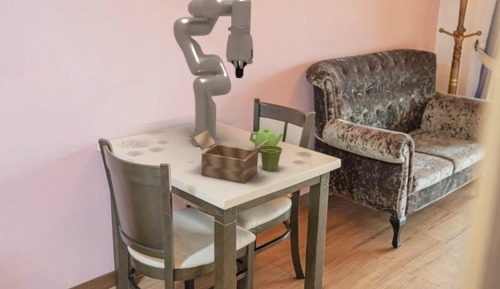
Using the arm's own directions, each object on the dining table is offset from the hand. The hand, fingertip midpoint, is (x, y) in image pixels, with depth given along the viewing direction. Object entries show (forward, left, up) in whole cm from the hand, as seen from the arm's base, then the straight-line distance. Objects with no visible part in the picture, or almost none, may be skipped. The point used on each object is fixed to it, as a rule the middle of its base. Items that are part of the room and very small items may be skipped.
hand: (239, 77), depth 197 cm
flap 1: (-7, -16, -23) cm, 29 cm away
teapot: (+6, +19, -35) cm, 41 cm away
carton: (+4, -16, -35) cm, 39 cm away
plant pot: (+16, -3, -35) cm, 39 cm away
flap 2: (+15, -16, -23) cm, 32 cm away
